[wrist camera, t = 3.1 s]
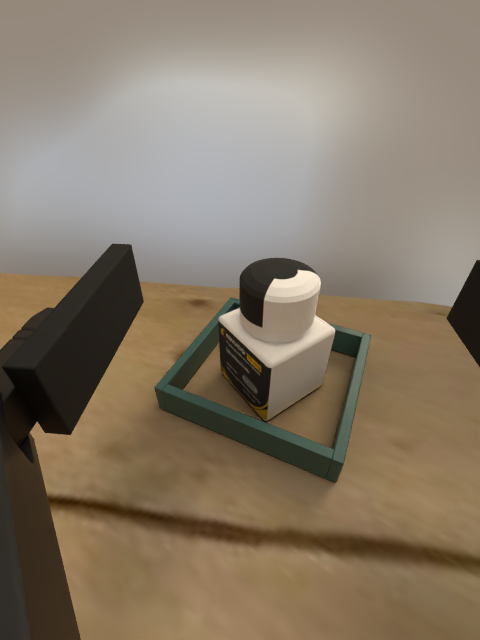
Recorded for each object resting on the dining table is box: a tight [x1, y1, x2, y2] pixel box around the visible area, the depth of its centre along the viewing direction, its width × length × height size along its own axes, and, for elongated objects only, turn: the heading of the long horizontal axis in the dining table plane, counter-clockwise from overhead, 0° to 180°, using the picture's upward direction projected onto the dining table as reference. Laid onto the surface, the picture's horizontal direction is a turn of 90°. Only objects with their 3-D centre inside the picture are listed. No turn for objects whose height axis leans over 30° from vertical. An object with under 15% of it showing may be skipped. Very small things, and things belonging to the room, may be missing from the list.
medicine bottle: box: [218, 258, 335, 421], centre depth 27 cm, size 7×7×12 cm
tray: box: [155, 298, 371, 482], centre depth 30 cm, size 16×15×3 cm
